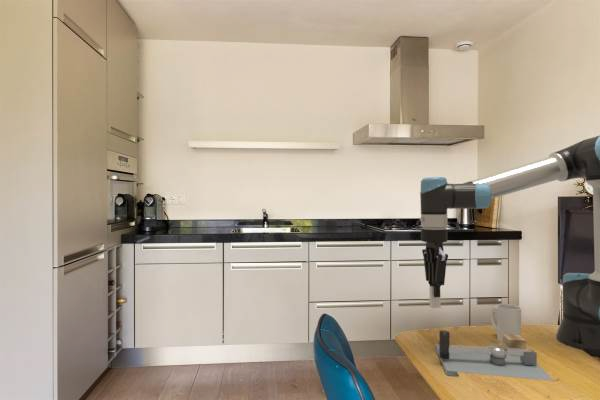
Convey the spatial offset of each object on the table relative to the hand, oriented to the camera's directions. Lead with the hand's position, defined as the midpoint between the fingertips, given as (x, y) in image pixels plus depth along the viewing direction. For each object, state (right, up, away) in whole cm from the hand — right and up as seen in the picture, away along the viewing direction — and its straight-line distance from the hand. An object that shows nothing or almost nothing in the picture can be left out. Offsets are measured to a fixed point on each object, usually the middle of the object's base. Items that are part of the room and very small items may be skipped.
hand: (435, 306), depth 110 cm
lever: (+10, -12, -10) cm, 19 cm away
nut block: (+22, -12, -3) cm, 25 cm away
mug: (+25, -14, +8) cm, 30 cm away
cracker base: (+12, -14, -9) cm, 20 cm away
